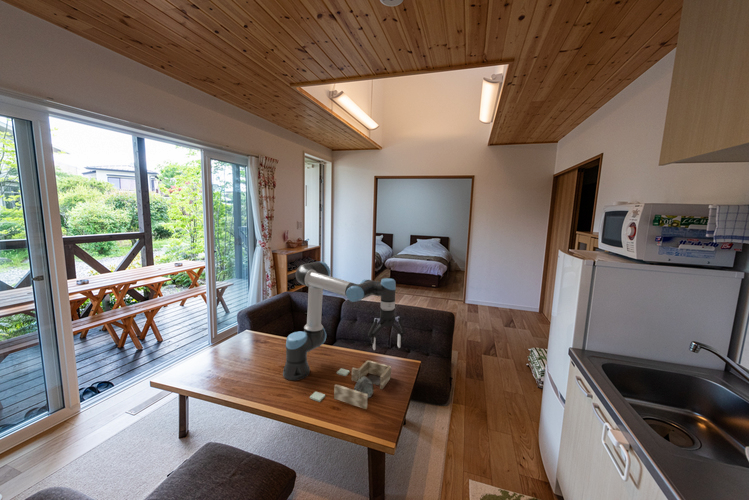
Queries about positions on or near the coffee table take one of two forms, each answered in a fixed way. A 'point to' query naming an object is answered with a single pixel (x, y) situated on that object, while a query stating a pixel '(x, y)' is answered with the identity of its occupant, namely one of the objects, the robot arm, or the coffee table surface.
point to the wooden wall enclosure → (368, 367)
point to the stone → (364, 386)
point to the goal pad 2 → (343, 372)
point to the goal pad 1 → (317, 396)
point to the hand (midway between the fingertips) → (386, 347)
